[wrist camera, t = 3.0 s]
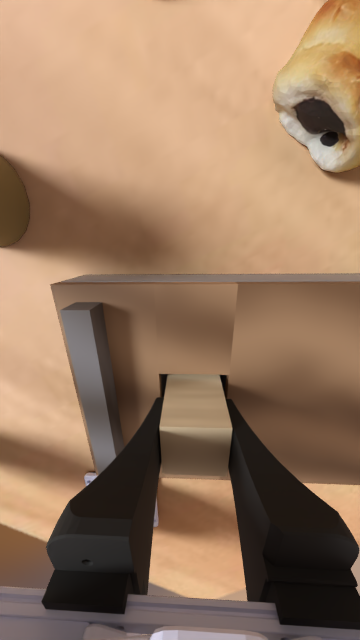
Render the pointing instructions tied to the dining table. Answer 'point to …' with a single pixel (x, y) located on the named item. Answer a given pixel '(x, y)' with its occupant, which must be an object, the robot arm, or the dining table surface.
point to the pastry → (325, 87)
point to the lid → (223, 362)
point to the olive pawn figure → (12, 205)
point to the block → (195, 426)
